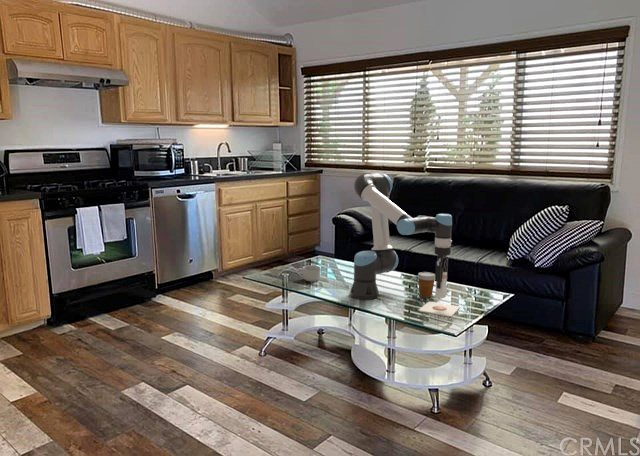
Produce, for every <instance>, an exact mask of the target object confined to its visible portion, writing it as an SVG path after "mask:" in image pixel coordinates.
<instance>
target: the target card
mask: <svg viewBox="0 0 640 456" xmlns="http://www.w3.org/2000/svg"><path fill="white" fill-rule="evenodd" d="M460 308H461V306H458V305H453V304H447V303H441V302H435V301H430V300H429V301H428V302H426V303H425V304H424V305H422V306H421V307H420V308H419V309H418V312H419V313H426V314H431V315H437V316H443V317H448V318H452V317H453V316H454V315H455V314H456V313H457V312H458V311H459V310H460Z"/></svg>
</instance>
